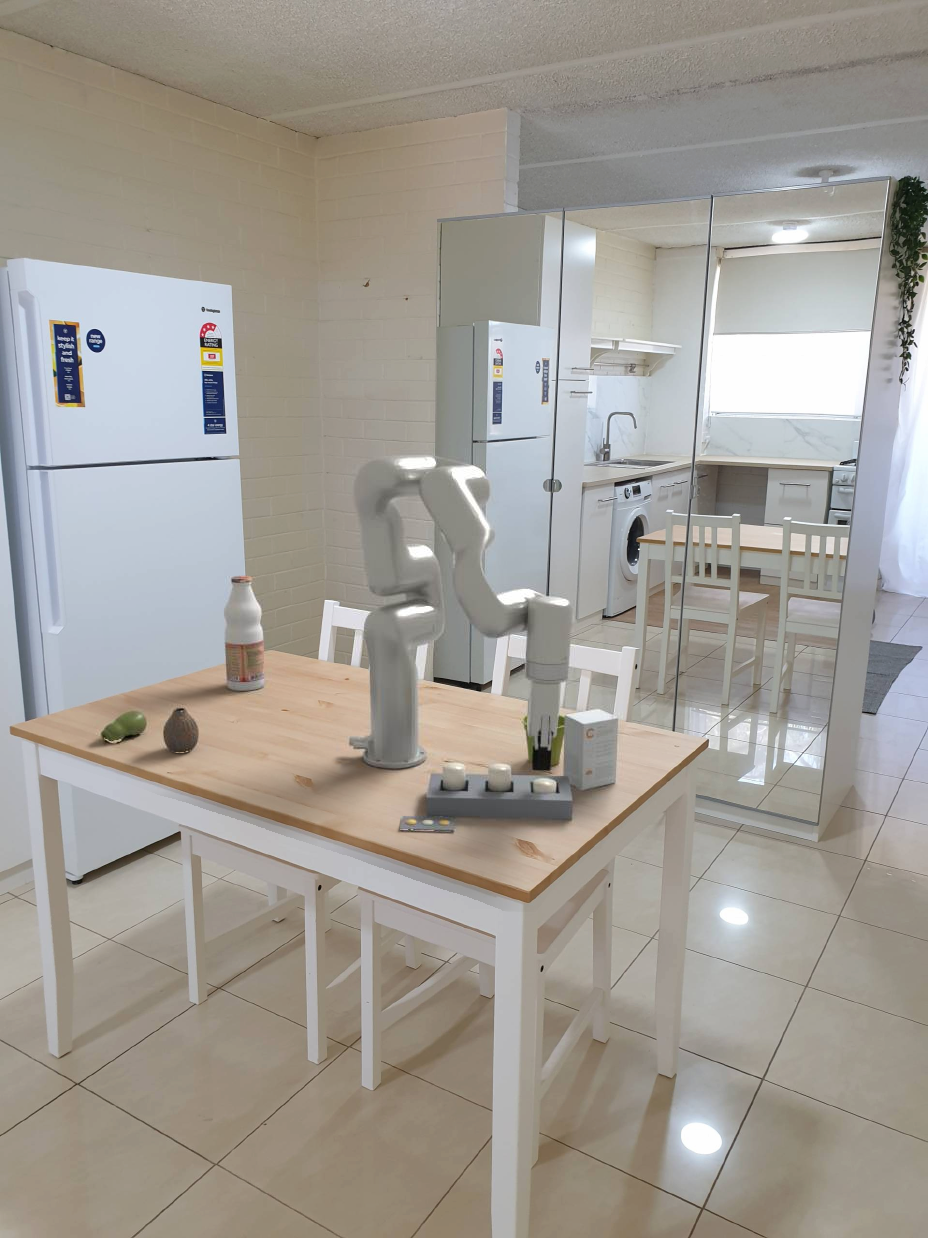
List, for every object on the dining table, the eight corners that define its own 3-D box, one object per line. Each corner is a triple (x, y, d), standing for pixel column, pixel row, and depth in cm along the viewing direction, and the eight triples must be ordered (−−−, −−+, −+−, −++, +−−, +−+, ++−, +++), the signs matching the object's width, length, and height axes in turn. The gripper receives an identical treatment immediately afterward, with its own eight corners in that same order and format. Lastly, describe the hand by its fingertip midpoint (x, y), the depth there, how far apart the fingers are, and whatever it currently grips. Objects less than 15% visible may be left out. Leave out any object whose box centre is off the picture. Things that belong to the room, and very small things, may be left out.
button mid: (487, 791, 164) (488, 771, 164) (488, 782, 168) (488, 763, 167) (510, 791, 164) (511, 772, 163) (510, 782, 168) (510, 764, 167)
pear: (149, 709, 201) (109, 729, 193) (154, 731, 203) (115, 752, 195) (132, 704, 204) (93, 724, 196) (137, 726, 206) (98, 746, 198)
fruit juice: (223, 691, 233) (217, 580, 227) (231, 681, 242) (226, 573, 236) (261, 691, 233) (256, 580, 227) (268, 681, 242) (264, 573, 236)
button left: (442, 790, 165) (442, 770, 164) (443, 781, 168) (443, 762, 168) (465, 790, 164) (465, 771, 164) (465, 782, 168) (466, 763, 168)
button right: (533, 806, 165) (533, 786, 164) (532, 796, 168) (533, 778, 168) (556, 806, 164) (556, 787, 164) (555, 797, 168) (555, 778, 168)
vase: (184, 742, 197) (182, 702, 196) (206, 749, 193) (204, 708, 192) (157, 751, 192) (154, 710, 190) (179, 758, 188) (176, 716, 186)
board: (426, 816, 162) (426, 797, 161) (431, 791, 173) (431, 773, 172) (572, 819, 161) (572, 800, 160) (567, 794, 172) (568, 776, 171)
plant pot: (575, 758, 190) (576, 717, 188) (555, 773, 182) (556, 730, 180) (533, 750, 194) (534, 709, 192) (512, 764, 186) (513, 722, 185)
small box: (596, 772, 183) (599, 708, 180) (616, 783, 177) (619, 717, 174) (561, 779, 179) (563, 714, 176) (581, 791, 173) (583, 723, 171)
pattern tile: (399, 831, 156) (399, 828, 156) (402, 818, 161) (402, 815, 161) (453, 832, 156) (453, 829, 156) (455, 819, 161) (455, 816, 161)
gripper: (523, 656, 169) (518, 752, 173) (526, 681, 154) (520, 785, 159) (565, 658, 169) (559, 754, 173) (571, 683, 154) (565, 787, 158)
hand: (541, 768), depth 166 cm, fingers closed
